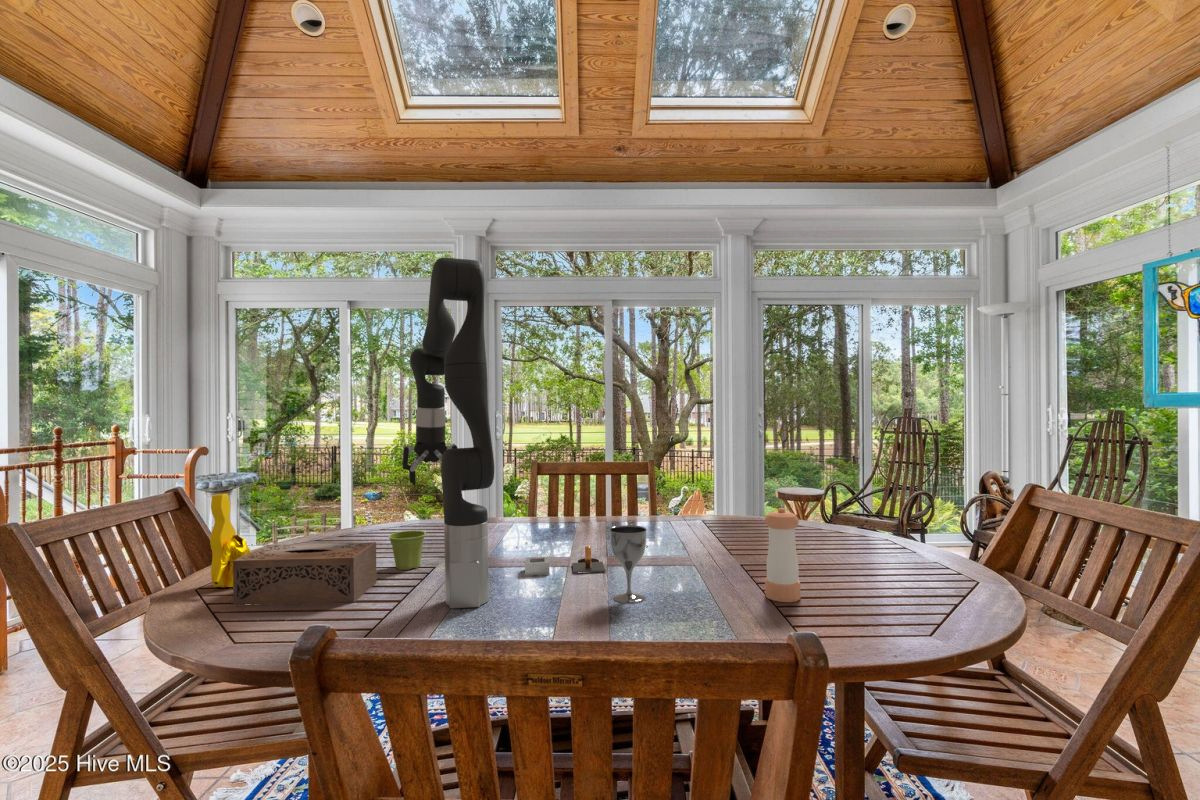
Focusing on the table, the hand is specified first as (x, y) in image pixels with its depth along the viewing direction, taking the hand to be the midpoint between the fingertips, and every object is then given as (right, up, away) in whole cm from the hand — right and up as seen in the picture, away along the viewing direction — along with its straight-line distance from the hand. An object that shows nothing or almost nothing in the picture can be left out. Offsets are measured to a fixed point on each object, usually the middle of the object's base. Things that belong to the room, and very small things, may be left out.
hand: (430, 483), depth 161 cm
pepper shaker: (+85, -20, -31) cm, 93 cm away
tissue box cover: (-21, -22, -23) cm, 39 cm away
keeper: (+43, -21, -7) cm, 48 cm away
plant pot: (-5, -22, -3) cm, 23 cm away
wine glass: (+52, -21, -30) cm, 64 cm away
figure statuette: (-44, -23, -16) cm, 52 cm away
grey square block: (+30, -21, -9) cm, 38 cm away
